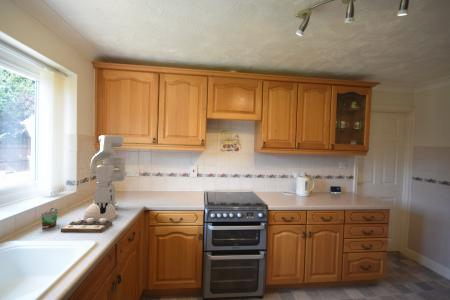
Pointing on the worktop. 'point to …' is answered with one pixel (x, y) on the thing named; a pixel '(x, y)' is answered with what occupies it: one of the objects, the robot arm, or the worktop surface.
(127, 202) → the worktop surface
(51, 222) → the food container
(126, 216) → the worktop surface
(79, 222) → the button
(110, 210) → the kettle
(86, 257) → the worktop surface
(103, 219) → the button
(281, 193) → the worktop surface
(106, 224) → the button board
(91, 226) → the pattern card
